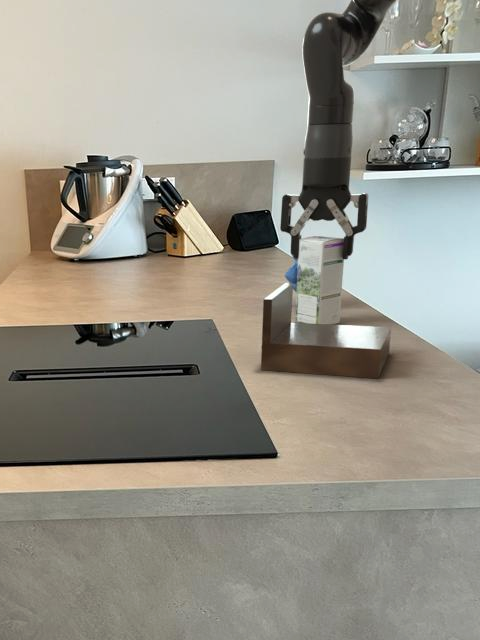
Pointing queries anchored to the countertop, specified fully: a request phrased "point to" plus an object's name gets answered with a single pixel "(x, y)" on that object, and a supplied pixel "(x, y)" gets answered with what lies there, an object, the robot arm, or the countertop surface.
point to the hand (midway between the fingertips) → (320, 258)
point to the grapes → (293, 274)
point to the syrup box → (319, 280)
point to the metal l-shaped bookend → (319, 343)
